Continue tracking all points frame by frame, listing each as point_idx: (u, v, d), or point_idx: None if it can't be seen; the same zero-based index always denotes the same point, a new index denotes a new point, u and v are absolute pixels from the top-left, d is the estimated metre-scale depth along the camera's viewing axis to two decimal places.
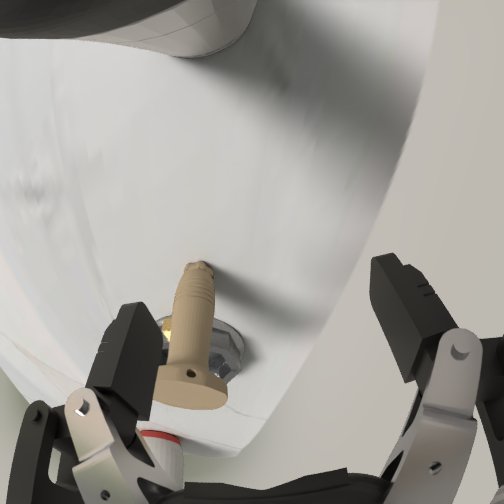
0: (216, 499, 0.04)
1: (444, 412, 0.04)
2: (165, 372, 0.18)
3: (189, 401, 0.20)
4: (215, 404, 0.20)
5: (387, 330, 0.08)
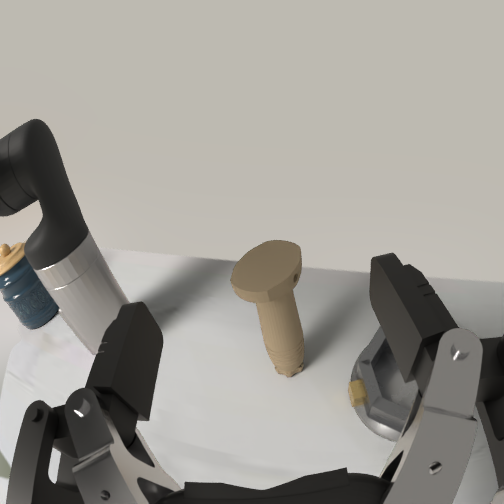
0: (216, 499, 0.04)
1: (444, 412, 0.04)
2: None
3: (277, 261, 0.22)
4: (287, 246, 0.24)
5: (387, 330, 0.08)
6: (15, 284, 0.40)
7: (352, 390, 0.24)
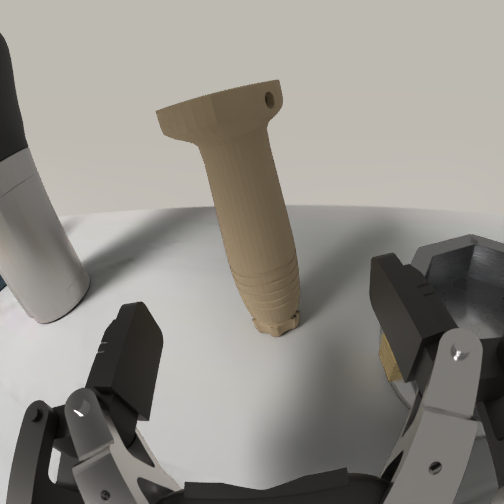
0: (216, 499, 0.04)
1: (444, 412, 0.04)
2: None
3: None
4: None
5: (387, 330, 0.08)
6: None
7: None
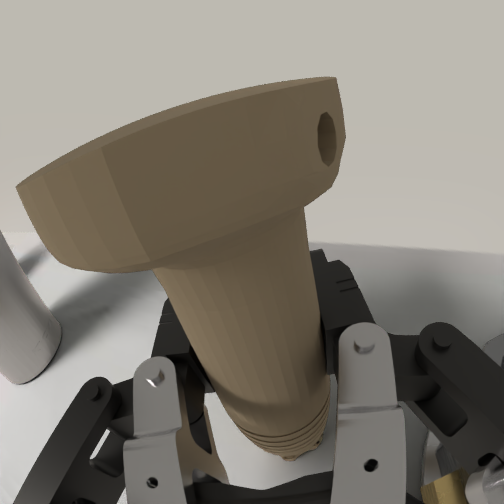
0: (216, 499, 0.04)
1: (362, 410, 0.04)
2: None
3: (237, 93, 0.04)
4: (281, 82, 0.06)
5: None
6: None
7: (440, 499, 0.06)
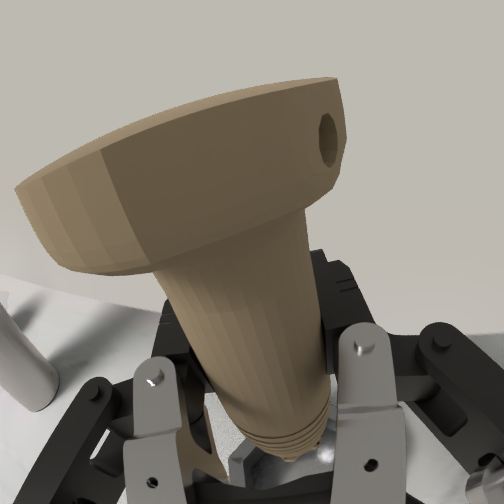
0: (216, 499, 0.04)
1: (362, 410, 0.04)
2: None
3: (238, 93, 0.04)
4: (282, 82, 0.06)
5: None
6: None
7: None
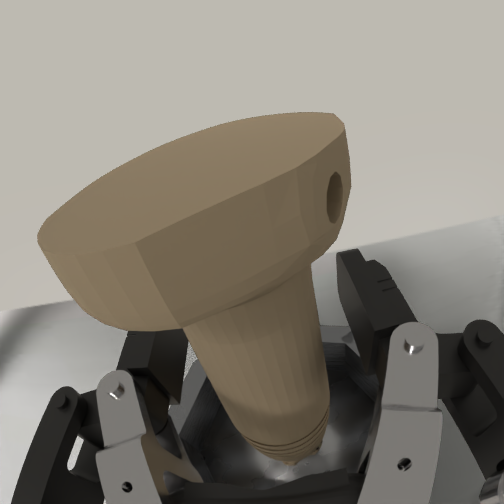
0: (216, 499, 0.04)
1: (405, 408, 0.04)
2: None
3: (248, 139, 0.05)
4: (288, 116, 0.06)
5: (351, 324, 0.09)
6: None
7: None
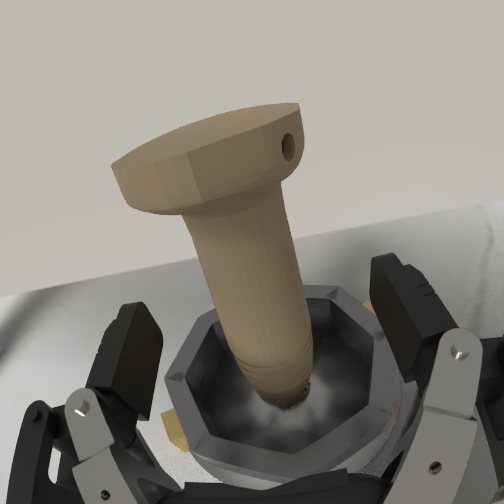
0: (216, 499, 0.04)
1: (444, 412, 0.04)
2: None
3: (240, 119, 0.08)
4: (269, 106, 0.09)
5: (387, 330, 0.08)
6: None
7: (166, 427, 0.13)
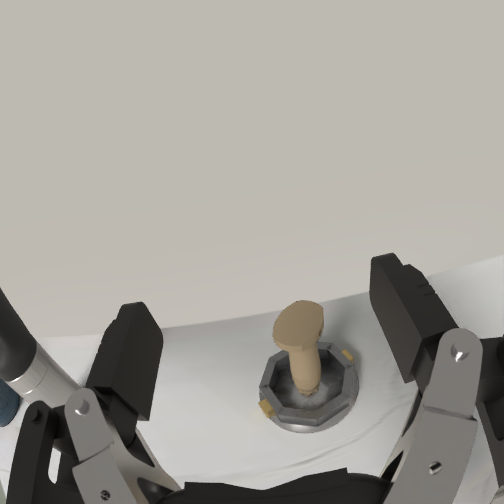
0: (216, 499, 0.04)
1: (444, 412, 0.04)
2: None
3: (307, 320, 0.29)
4: (313, 306, 0.31)
5: (387, 330, 0.08)
6: None
7: (262, 407, 0.35)
